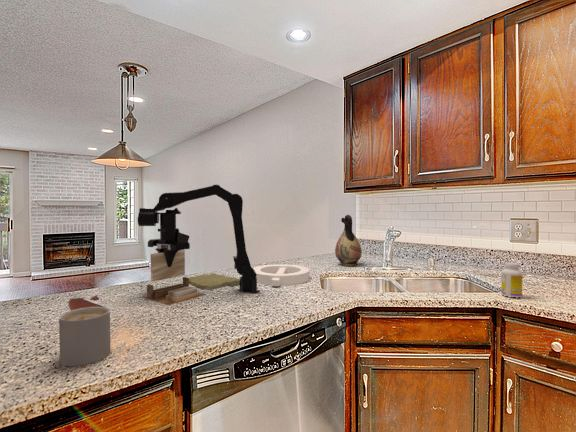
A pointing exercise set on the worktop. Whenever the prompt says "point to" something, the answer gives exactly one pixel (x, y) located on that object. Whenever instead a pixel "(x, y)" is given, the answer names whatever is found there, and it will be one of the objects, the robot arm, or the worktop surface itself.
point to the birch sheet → (161, 268)
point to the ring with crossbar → (282, 274)
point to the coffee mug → (84, 336)
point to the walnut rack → (166, 292)
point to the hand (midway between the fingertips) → (168, 266)
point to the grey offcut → (182, 291)
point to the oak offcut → (178, 299)
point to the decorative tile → (213, 281)
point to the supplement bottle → (511, 280)
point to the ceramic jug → (348, 245)
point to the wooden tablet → (83, 303)
